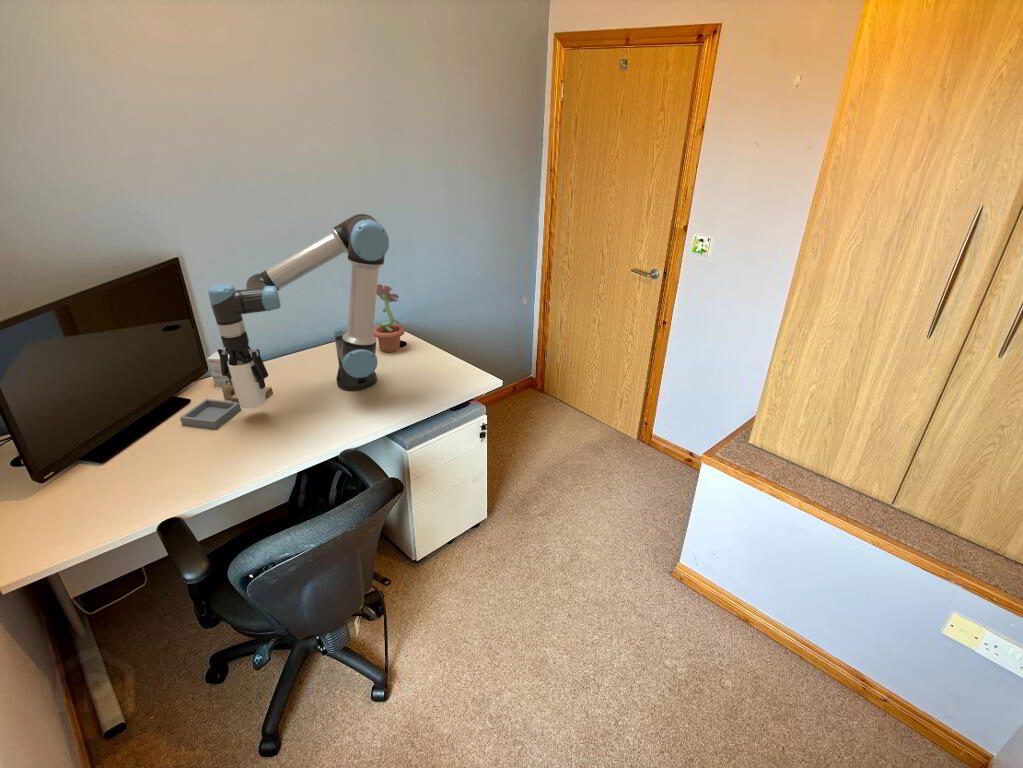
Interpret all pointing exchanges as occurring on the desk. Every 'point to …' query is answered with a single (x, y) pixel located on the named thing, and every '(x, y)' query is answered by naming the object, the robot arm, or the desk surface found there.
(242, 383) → the cup
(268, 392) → the brown wooden square block
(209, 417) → the tray
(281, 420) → the desk surface
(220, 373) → the ink box
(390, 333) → the decorative flower
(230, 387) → the bench dog
